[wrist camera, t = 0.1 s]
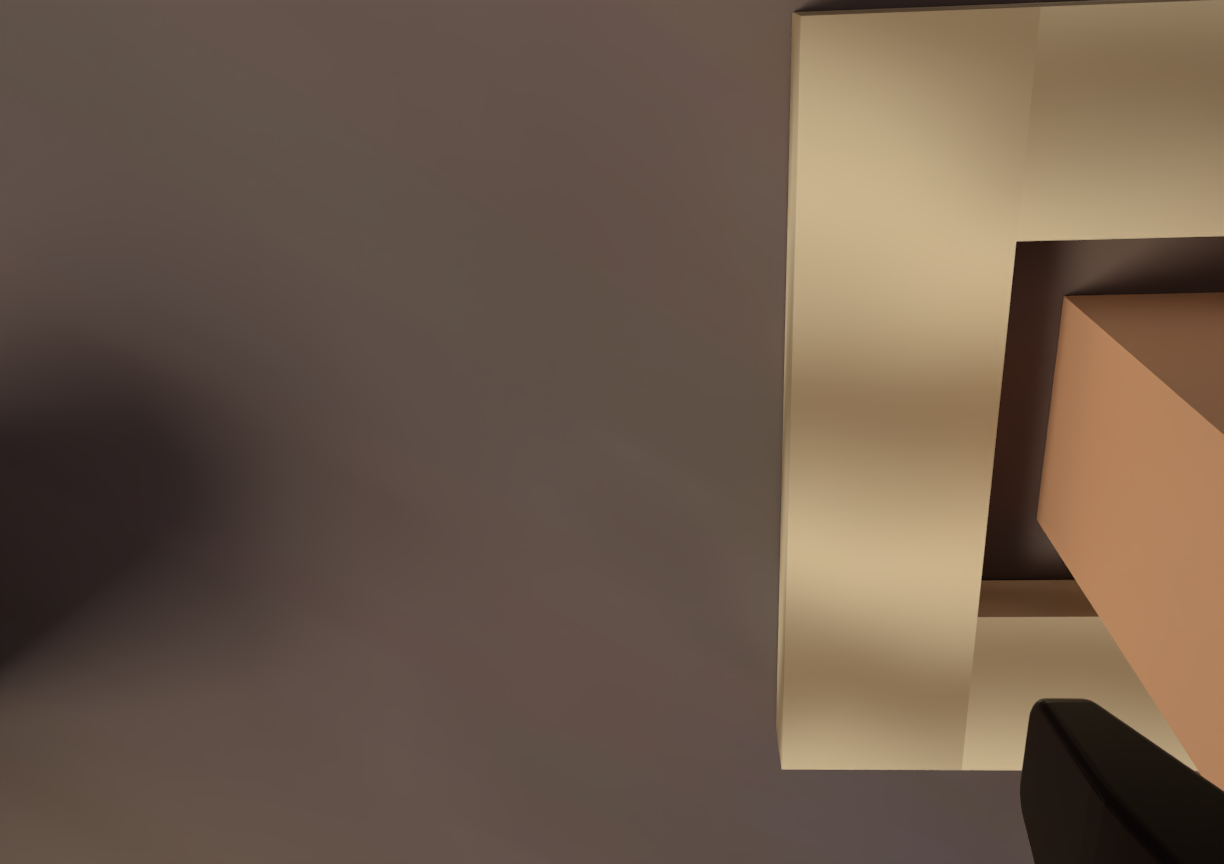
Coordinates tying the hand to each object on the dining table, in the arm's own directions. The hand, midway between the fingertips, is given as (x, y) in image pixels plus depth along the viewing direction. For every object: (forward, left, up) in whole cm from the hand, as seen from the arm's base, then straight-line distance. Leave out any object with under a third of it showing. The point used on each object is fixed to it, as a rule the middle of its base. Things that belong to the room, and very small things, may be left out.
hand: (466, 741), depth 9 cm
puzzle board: (-3, -12, -15) cm, 19 cm away
